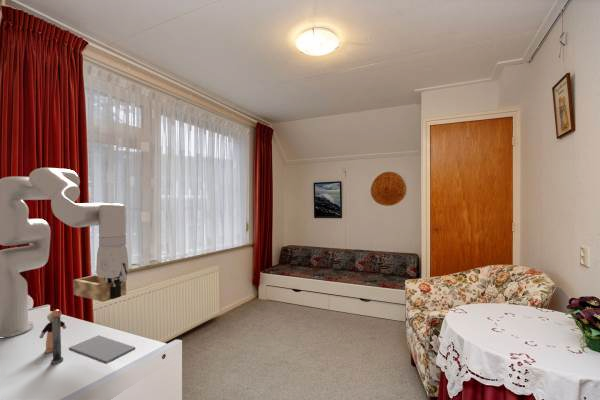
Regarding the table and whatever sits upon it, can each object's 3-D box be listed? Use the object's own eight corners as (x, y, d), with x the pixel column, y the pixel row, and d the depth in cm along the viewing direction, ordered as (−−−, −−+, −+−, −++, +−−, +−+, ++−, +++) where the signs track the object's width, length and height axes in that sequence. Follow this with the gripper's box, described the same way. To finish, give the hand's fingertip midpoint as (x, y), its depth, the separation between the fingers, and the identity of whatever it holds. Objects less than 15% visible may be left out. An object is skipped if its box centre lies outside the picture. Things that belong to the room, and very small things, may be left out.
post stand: (48, 362, 94) (47, 310, 93) (59, 357, 97) (58, 307, 96) (54, 365, 93) (53, 312, 92) (65, 360, 95) (64, 308, 95)
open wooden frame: (73, 294, 102) (73, 280, 102) (96, 288, 109) (96, 274, 109) (103, 301, 95) (102, 286, 95) (126, 294, 102) (125, 279, 102)
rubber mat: (69, 348, 102) (69, 347, 102) (98, 336, 111) (98, 335, 111) (106, 363, 94) (106, 361, 94) (135, 348, 102) (135, 347, 102)
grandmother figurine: (47, 355, 98) (46, 316, 98) (38, 353, 99) (37, 315, 99) (69, 343, 106) (69, 307, 105) (60, 342, 106) (60, 306, 106)
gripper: (86, 241, 98) (87, 297, 99) (116, 245, 92) (118, 305, 92) (109, 238, 105) (110, 291, 106) (139, 241, 99) (140, 297, 99)
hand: (113, 297), depth 99 cm, fingers closed on open wooden frame, 1 cm apart
